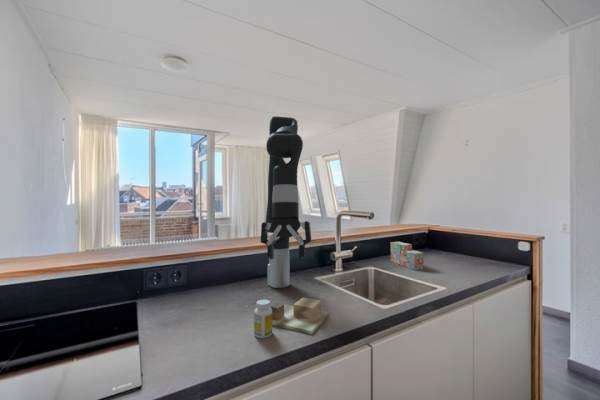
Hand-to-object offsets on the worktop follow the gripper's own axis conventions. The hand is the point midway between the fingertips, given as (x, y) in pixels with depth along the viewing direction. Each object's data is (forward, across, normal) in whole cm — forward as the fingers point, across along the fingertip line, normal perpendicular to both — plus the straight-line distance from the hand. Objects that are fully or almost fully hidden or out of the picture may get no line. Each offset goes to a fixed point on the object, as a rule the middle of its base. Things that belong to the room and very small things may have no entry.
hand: (286, 258), depth 79 cm
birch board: (+22, +1, -16) cm, 27 cm away
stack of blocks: (+15, -49, -96) cm, 109 cm away
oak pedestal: (+21, -3, -18) cm, 28 cm away
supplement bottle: (+23, +8, -5) cm, 25 cm away
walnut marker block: (+22, +7, -14) cm, 27 cm away
